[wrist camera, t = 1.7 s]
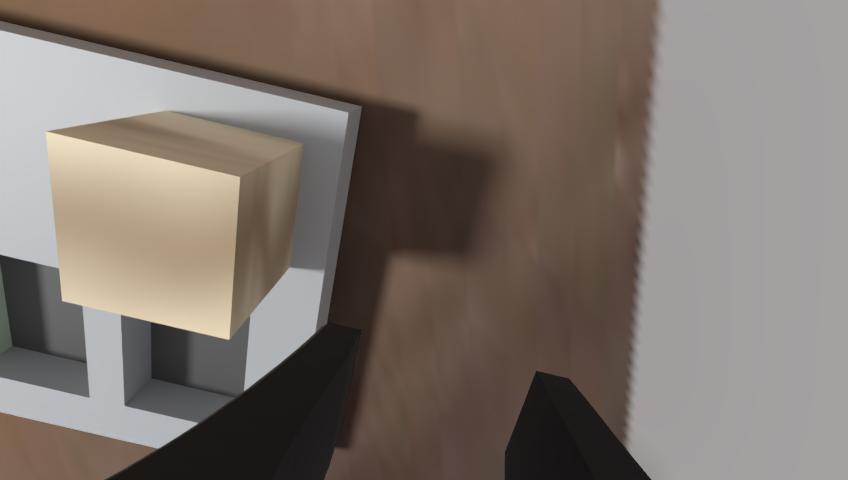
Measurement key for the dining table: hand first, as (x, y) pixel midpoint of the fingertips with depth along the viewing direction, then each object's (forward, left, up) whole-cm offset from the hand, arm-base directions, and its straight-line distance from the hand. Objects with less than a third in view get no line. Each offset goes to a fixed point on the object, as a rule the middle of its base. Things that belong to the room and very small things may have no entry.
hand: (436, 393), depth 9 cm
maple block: (0, +8, -7) cm, 11 cm away
